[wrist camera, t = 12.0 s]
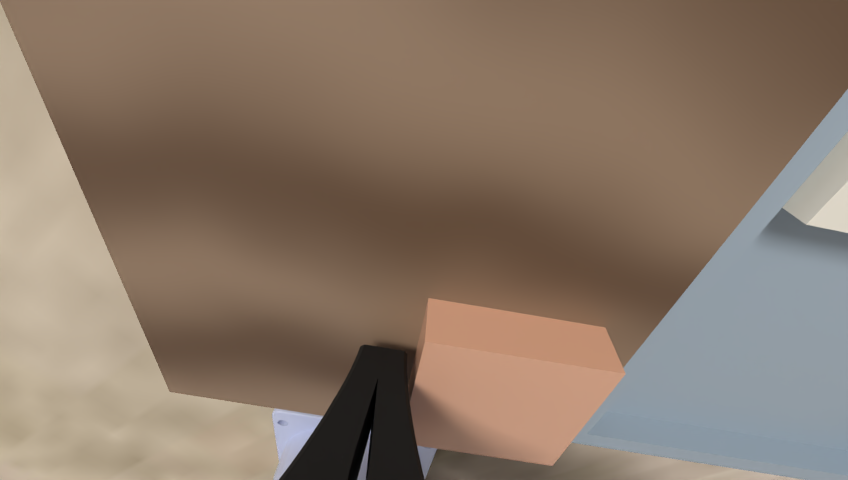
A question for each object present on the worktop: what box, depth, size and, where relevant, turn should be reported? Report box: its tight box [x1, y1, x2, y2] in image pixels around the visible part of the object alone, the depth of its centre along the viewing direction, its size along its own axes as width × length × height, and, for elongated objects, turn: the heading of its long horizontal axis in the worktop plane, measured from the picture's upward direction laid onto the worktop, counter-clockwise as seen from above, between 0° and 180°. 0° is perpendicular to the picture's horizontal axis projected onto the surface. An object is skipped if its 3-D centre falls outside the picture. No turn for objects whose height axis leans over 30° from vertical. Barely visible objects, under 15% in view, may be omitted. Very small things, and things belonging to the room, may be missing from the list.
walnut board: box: [0, 0, 848, 416], centre depth 10 cm, size 18×15×2 cm
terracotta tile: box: [408, 298, 626, 466], centre depth 11 cm, size 5×5×2 cm
